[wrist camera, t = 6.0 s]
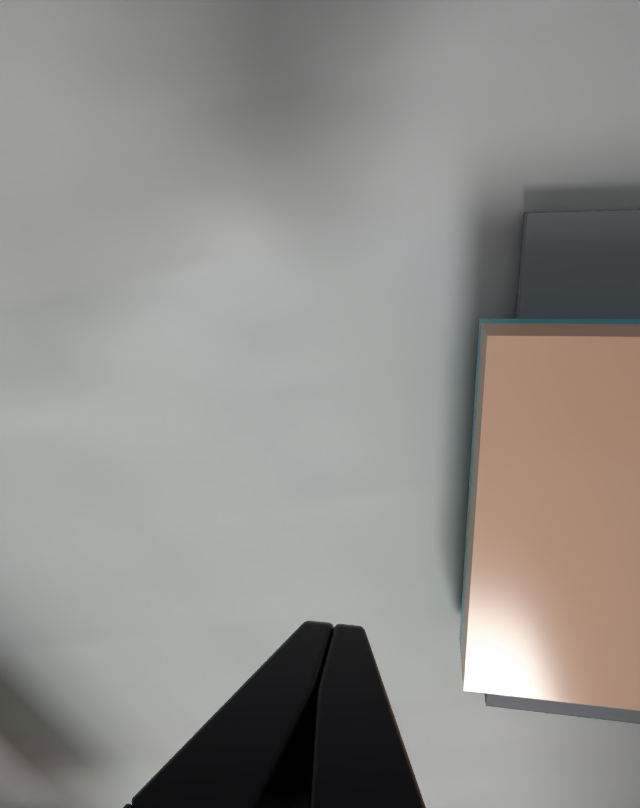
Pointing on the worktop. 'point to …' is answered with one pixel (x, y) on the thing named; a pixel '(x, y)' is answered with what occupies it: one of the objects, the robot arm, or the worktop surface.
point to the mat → (578, 299)
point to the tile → (554, 513)
